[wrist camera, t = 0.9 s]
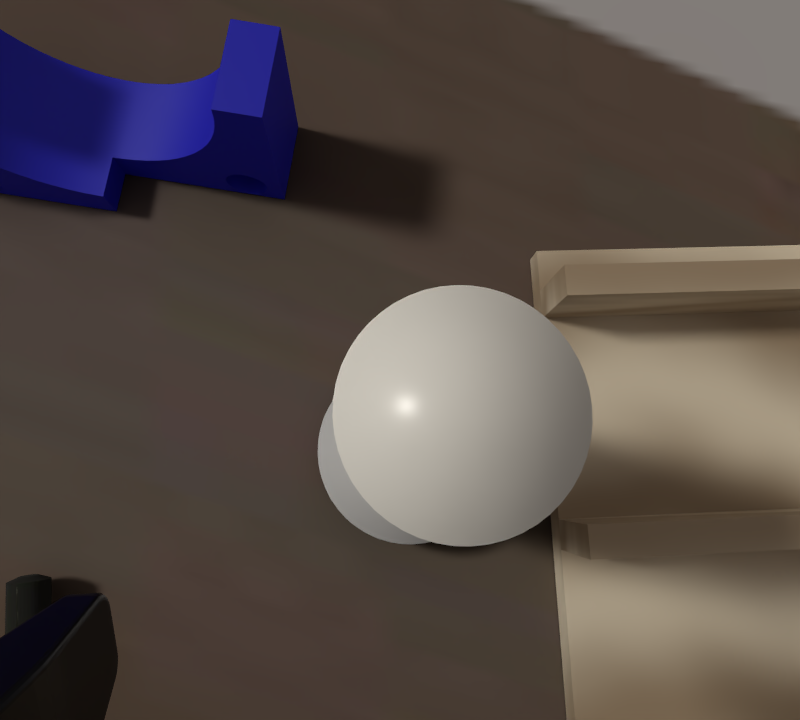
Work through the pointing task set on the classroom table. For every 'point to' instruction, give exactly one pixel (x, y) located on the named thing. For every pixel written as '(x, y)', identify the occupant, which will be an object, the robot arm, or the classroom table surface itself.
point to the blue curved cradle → (146, 124)
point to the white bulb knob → (455, 420)
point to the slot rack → (681, 482)
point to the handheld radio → (26, 599)
